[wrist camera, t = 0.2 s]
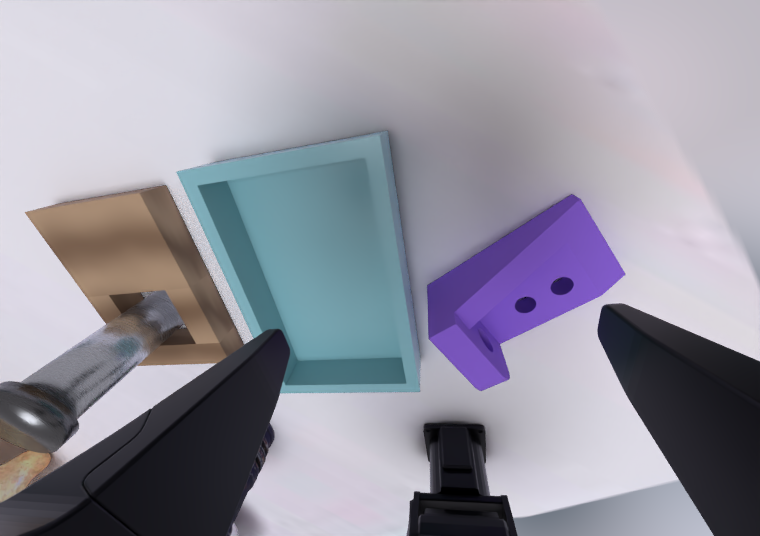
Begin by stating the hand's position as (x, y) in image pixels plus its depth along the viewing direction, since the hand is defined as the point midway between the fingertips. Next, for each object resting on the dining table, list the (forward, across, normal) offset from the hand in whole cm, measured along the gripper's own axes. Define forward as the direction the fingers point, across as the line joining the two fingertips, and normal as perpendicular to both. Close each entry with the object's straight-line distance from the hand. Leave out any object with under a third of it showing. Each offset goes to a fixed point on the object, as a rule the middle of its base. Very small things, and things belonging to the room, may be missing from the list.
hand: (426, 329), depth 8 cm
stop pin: (+14, +26, +7) cm, 30 cm away
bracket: (+15, -6, +8) cm, 18 cm away
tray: (+14, +8, +5) cm, 18 cm away
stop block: (+14, +26, +4) cm, 30 cm away
